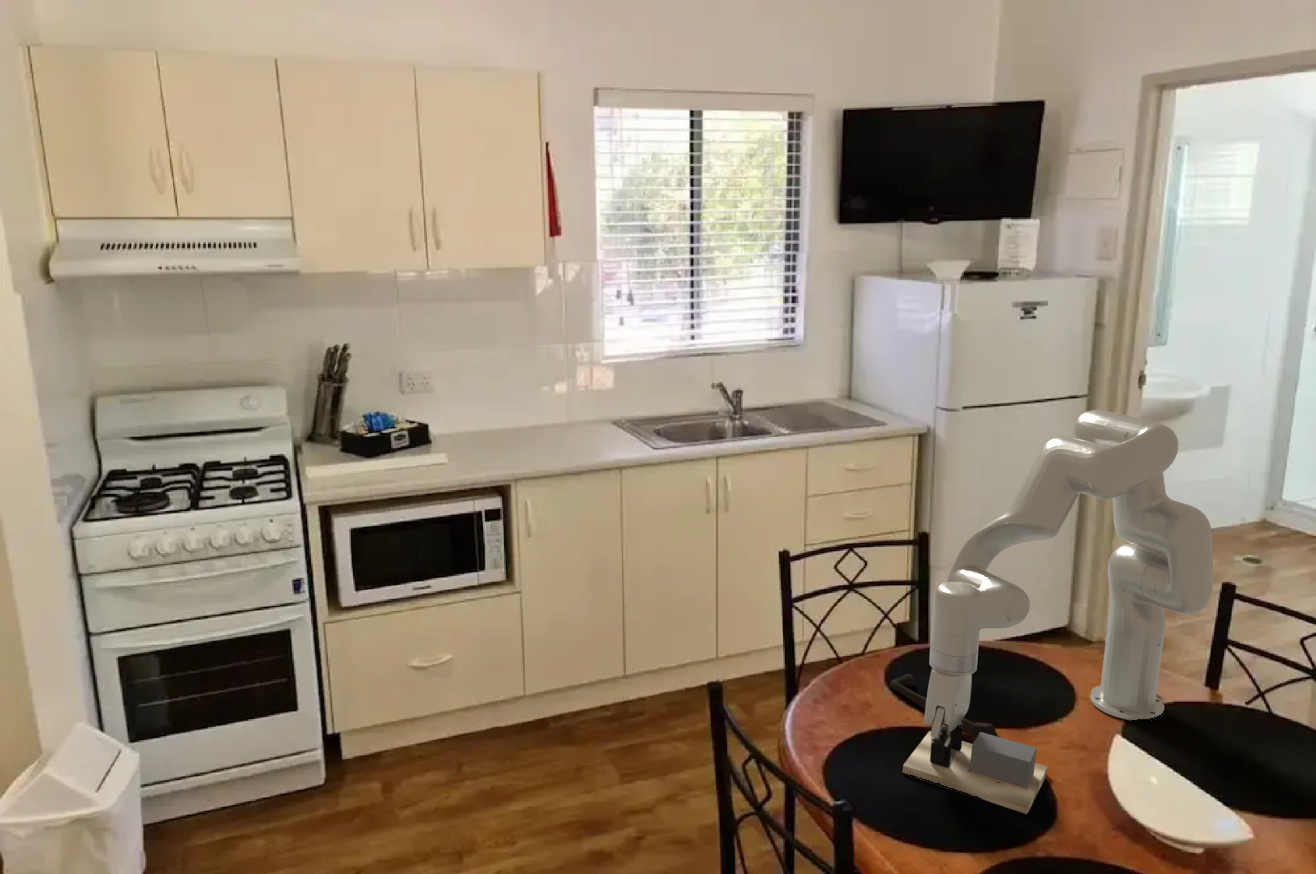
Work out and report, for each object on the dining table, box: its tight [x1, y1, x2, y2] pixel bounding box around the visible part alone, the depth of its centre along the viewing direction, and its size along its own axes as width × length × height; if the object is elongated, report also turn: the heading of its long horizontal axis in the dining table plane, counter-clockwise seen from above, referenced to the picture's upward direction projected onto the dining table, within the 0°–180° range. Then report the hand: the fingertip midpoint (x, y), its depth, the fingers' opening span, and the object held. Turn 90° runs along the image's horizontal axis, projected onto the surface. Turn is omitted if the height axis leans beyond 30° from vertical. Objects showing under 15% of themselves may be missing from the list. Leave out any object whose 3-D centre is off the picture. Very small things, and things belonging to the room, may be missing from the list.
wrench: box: [889, 673, 1002, 743], centre depth 178 cm, size 5×5×30 cm
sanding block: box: [970, 732, 1037, 790], centre depth 158 cm, size 5×9×5 cm, turn 58°
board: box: [902, 730, 1049, 815], centre depth 161 cm, size 13×20×2 cm, turn 56°
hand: (945, 755), depth 164 cm, fingers open, 5 cm apart
